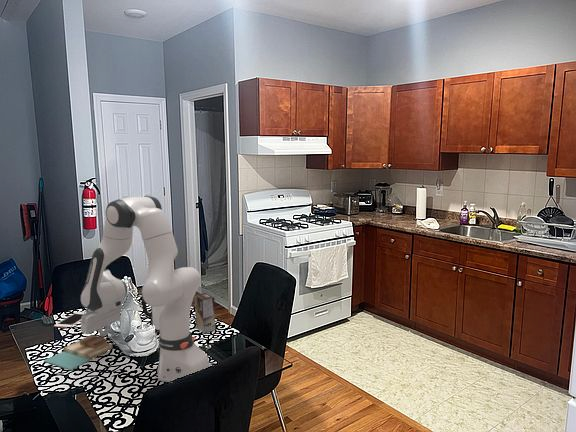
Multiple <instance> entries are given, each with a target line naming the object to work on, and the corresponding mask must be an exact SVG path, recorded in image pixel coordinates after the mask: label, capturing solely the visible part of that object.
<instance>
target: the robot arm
mask: <svg viewBox="0 0 576 432" xmlns="http://www.w3.org/2000/svg"><path fill="white" fill-rule="evenodd" d="M105 208H106V209H105V217H106V218H105V221H104V226H103V232H102V234H103V235H102V238H101V241H100V243H99V245H98V247H97V248H96V249H95V250H94V251H93V253H92V255H91V259H90V263H89V267H88V269H87V270H88V271H87V276H86V279H85V282H84V286H83V288H82V290H81V292H80V297H79V298H80V303H81V305H82V307H83V308H84V309H87V311H84V312H85V313H84V314H83V315H82V317H81V321H80V332H81V333H82V334H85V335H89V334H92V333H93V332H96V331H98V333H99V337H102V338H105V337H106V336H107V335H109V330H110V328H111V325H113V324H115V323H116V322H118V321H120V312H121V309H122V308H123V309H124V305H123V300H125V299H126V297H127V294H128V286H127V283H126V282H125V281H123V280H122V279H120V278H117V277H115V276H114V275H112V272H111V270H109V269H107V267H108V266H109V265H110V264H111V263H112V262H114V261H115V260H117V259H118V258H120V257H122V256H124V255H125V254H126V253H128V252H129V250H130V248H131V247H132V242H133V237H134V236H133V235H134V234H133V233H134V232H133V231H134V227H136V228H138V229H139V232H140V234H141V238H142V242H143V245H144V248H145V253H146V255H147V262H148V270H147V271H148V272H147V276H146V279H145V282H144V284H143V286H142V288H141V298H142V297H143V299H144V301H145V302H146V305H148V306H149V307H150V308H151V307H157V306H163V305H166V306H165V308H164V310H163V311H162V312H161V314H160V317H159V325H160V330H159V335H158V346H159V349H160V350H159V361H158V365H157V370H156V372H157V375H158V376H157V380H158V381H161V382H168V383H171V382H170V381H173V380H175V379H177V378H180V377H183V376H186V375H189V374H192V373H195V372H197V371H200V370H202V369H205V368H207V367H209V366H212V364H211V363H210V361H209V356H208V354H207V353H206V352H204V350H203V349H201V347H199V346H198V345H197V344H196V343H195V340H196V336H192V333H191V331H190V327H191V325H190V314H191V308H192V303H193V300H194V299H195V295H196V292H197V291H198V289H199V288H200V287H201V284H202V277H201V274H200V272H199V271H198V270H197V269H196V268H195V267H192V266H185V267H179V268H176V269H174V262H175V258H177V256H178V252H179V250H178V245H177V243H176V240H175V236H174V233H173V230H172V227H171V225H170V222H169V220H168V218H167V216H166V214H165V212H164V210H163V208H162V203H161V202H160V200H159V199H158V198H157V197H155V196H151V195H150V196H149V195H145V196H130V197H125V198H121V199H120V198H119V199H116V200H112V201H111V202H109V203H108V204H107V206H106V207H105Z"/></svg>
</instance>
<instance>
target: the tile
mask: <svg viewBox="0 0 576 432" xmlns="http://www.w3.org/2000/svg"><path fill="white" fill-rule="evenodd" d="M79 341H80V345H83V346H87V347H90V348H94V349H95V348H97V347H99V346H101V345H103V344H105V343H107V338H105V337H101V336H98V335H94V334H91V335H88V336H85V337H83V338H81V339H79Z"/></svg>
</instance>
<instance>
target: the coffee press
mask: <svg viewBox="0 0 576 432" xmlns="http://www.w3.org/2000/svg"><path fill="white" fill-rule="evenodd" d="M141 306H142V312H143V313H144V315H145V316H147V317H148V318H151V326H153V325H154V326H155V328H156V329H155V330H157V331H160V325H159V317H160V314H161V312H162V311H163V310H164V308H165V306H166V305H163V306H157V307H151V306H150V312H149V310H148V308H147V303H146V302H145V301H144V299H143V297H142V296H141Z"/></svg>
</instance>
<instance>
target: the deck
mask: <svg viewBox="0 0 576 432" xmlns="http://www.w3.org/2000/svg"><path fill="white" fill-rule="evenodd" d="M112 348H113V344H112V343H107V342H106V343H105V344H103V345H101V346H99V347H97V348H95V349H94V348H90V347H87V346H83V345H80V340H78V341H75V342H73V343H71V344H69V345H67V346H64V347H63V351H64V352H67V353H70V354H74V355H77V356H80V357H84V358H87V359H90V361H92V360H94V359H96V358H98V357H100V356H102V355H103V353H104V354H105V352H106V351H108V350H110V349H112ZM112 350H113V349H112ZM110 351H111V350H110ZM108 352H109V351H108ZM106 353H107V352H106ZM101 354H102V355H101ZM99 355H100V356H99ZM97 356H98V357H97ZM93 358H94V359H93Z"/></svg>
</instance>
